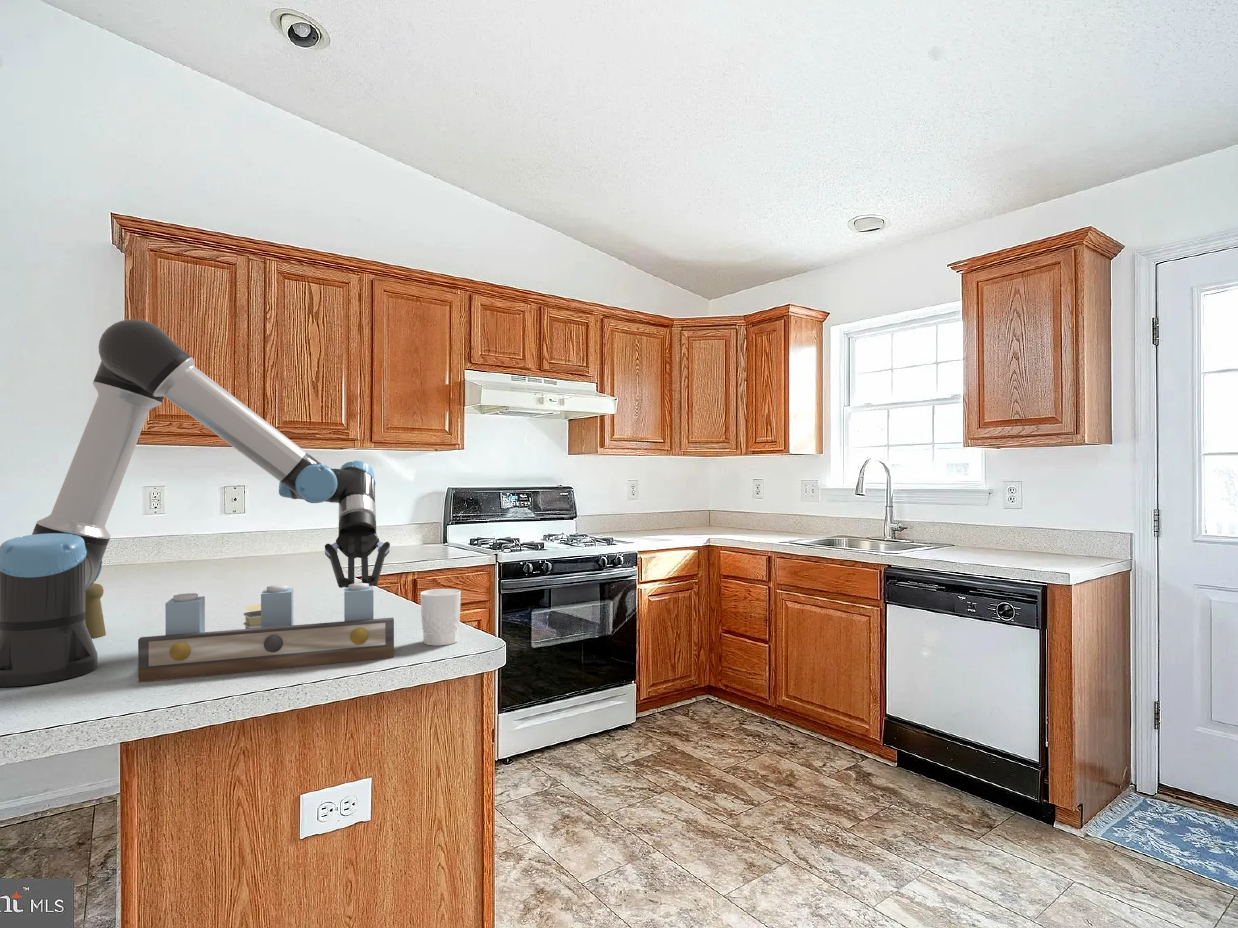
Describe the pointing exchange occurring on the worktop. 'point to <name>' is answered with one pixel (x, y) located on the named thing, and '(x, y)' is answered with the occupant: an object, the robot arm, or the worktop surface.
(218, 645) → the button console
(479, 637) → the worktop surface
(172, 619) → the left plunger
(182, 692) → the worktop surface
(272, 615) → the middle plunger
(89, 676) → the worktop surface
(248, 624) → the stacked layers on plate
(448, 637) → the white cup
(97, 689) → the worktop surface
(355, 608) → the right plunger
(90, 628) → the cork
